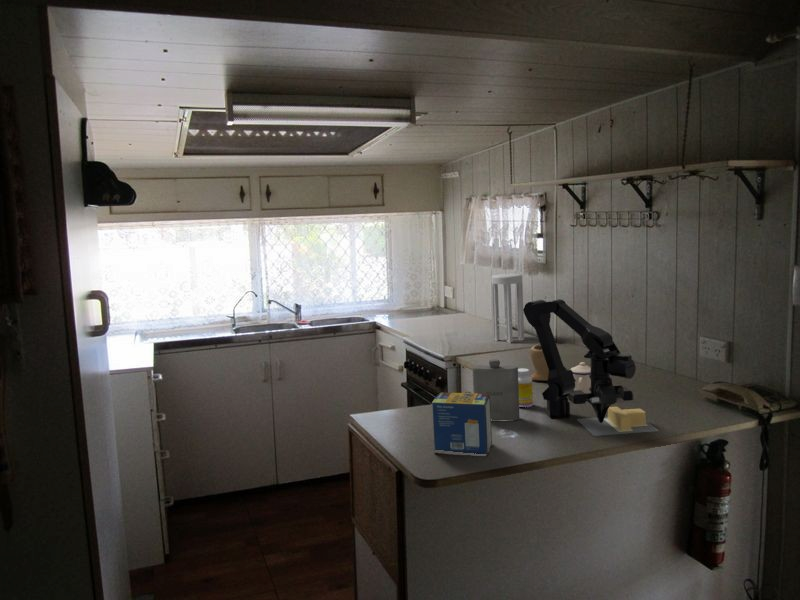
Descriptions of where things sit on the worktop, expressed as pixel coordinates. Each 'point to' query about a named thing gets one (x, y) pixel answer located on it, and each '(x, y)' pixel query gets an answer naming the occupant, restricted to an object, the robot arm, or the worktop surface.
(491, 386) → the flask
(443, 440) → the protein box
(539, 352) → the stone cup
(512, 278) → the stool
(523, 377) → the supplement bottle
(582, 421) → the mat
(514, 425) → the worktop surface
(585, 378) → the teacup with lid
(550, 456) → the worktop surface
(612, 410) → the t block
